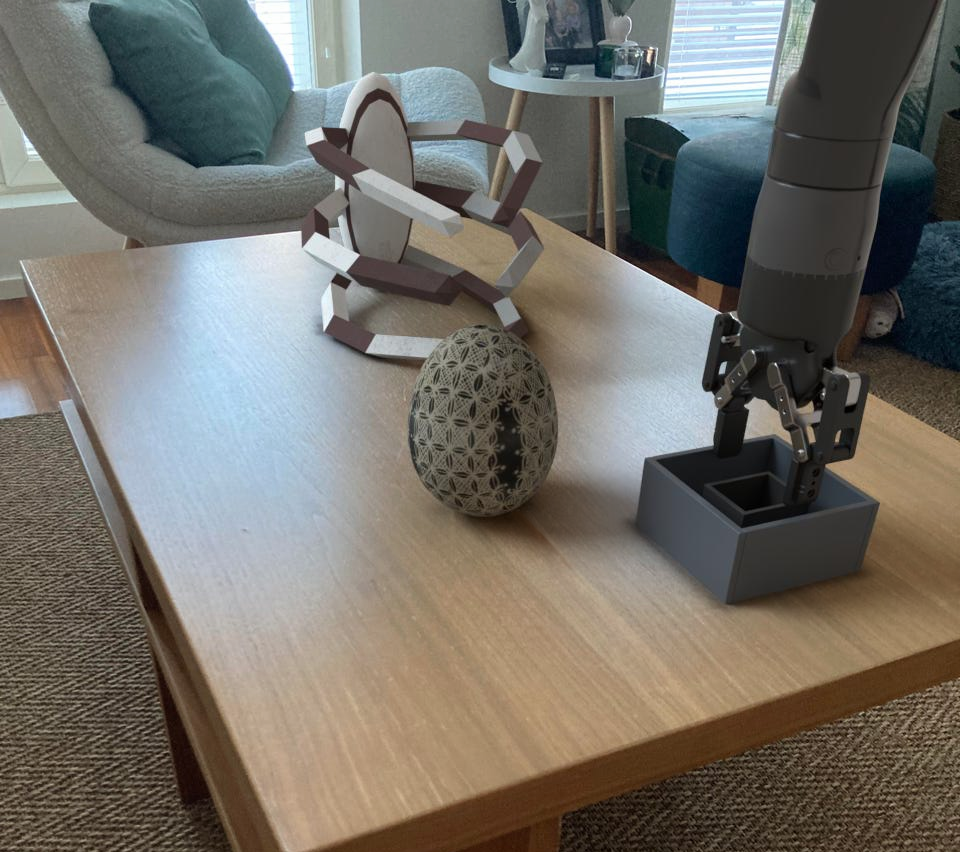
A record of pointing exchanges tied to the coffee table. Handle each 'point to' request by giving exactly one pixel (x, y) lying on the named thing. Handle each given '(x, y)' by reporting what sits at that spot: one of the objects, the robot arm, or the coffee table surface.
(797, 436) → the robot arm
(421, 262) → the segmented loop sculpture
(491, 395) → the decorative egg
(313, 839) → the coffee table surface
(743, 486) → the small bin
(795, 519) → the grey bin
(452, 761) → the coffee table surface
